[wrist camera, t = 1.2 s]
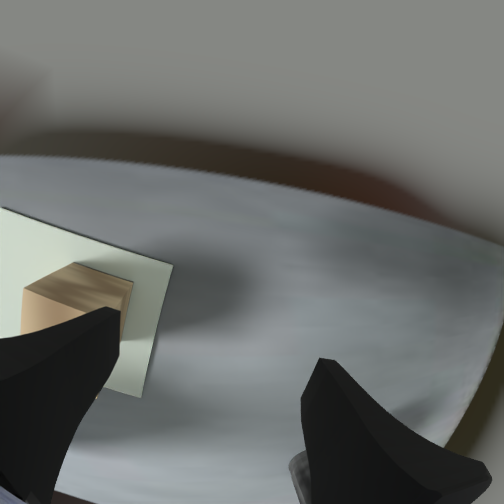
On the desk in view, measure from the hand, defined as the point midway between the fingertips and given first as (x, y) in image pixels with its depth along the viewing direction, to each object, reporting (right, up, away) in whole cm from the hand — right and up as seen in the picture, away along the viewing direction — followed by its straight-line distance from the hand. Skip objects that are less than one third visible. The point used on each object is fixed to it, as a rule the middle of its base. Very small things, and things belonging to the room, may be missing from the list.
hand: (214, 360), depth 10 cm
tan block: (-10, 0, +10) cm, 15 cm away
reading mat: (-14, -1, +10) cm, 17 cm away
